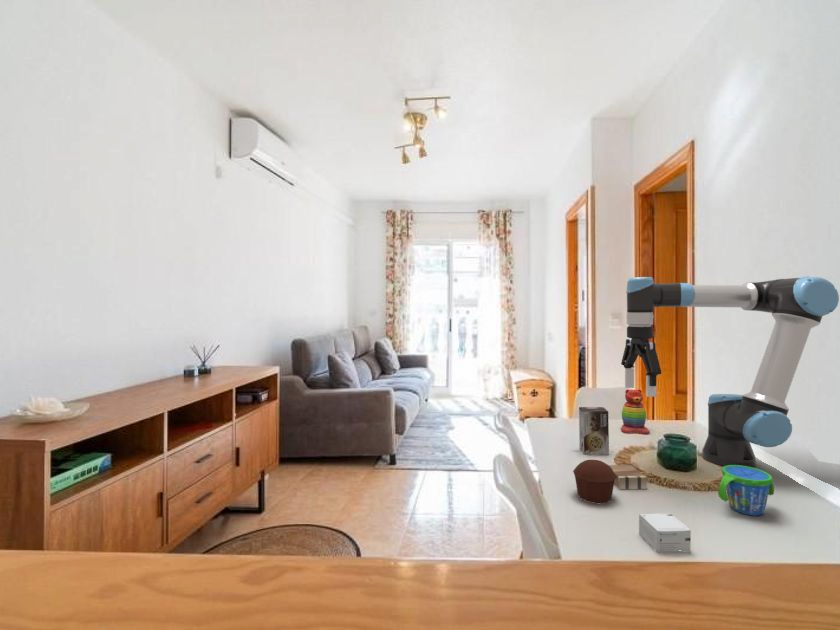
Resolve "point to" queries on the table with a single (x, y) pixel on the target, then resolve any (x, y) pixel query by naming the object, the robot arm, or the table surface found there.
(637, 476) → the brown thick block
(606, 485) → the muffin
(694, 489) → the table surface
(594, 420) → the coffee box
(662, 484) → the table surface
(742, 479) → the snack cup
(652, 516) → the small box
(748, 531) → the table surface
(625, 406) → the stacking bear
